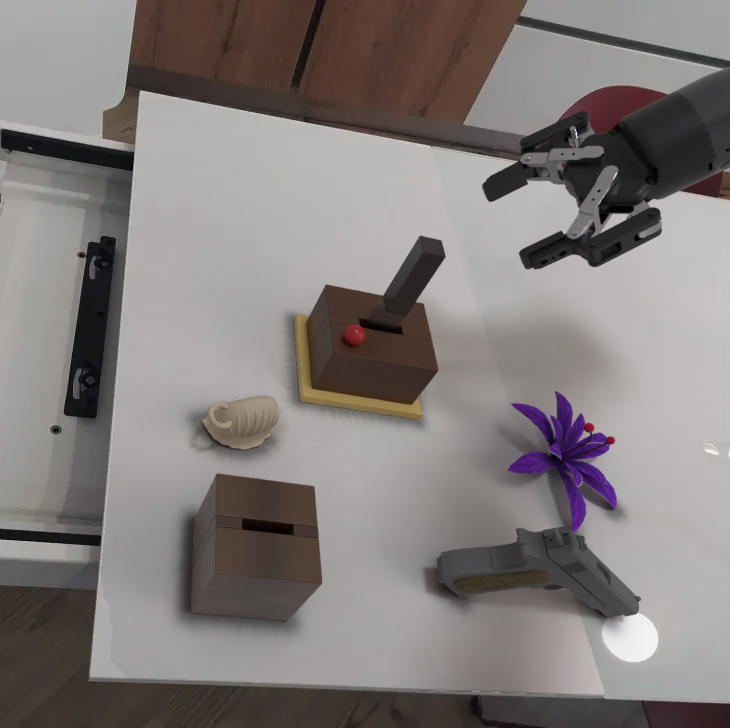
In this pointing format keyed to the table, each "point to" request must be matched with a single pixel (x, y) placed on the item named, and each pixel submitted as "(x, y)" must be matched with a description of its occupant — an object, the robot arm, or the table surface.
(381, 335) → the cake
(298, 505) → the knife block
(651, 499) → the table surface
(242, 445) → the decorative ornament
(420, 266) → the knife
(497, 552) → the handgun
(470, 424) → the table surface
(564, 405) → the decorative flower
